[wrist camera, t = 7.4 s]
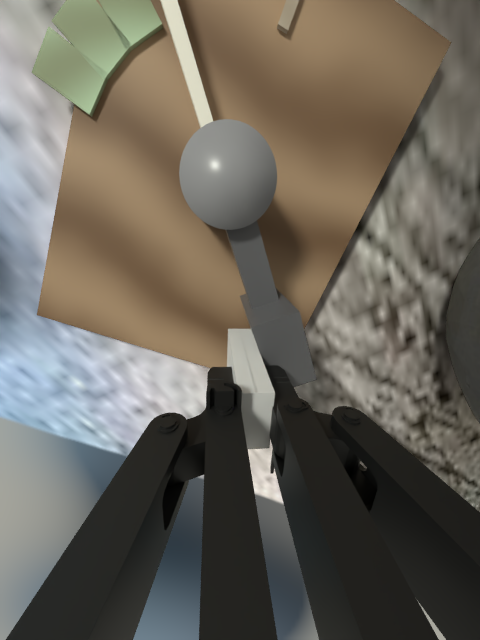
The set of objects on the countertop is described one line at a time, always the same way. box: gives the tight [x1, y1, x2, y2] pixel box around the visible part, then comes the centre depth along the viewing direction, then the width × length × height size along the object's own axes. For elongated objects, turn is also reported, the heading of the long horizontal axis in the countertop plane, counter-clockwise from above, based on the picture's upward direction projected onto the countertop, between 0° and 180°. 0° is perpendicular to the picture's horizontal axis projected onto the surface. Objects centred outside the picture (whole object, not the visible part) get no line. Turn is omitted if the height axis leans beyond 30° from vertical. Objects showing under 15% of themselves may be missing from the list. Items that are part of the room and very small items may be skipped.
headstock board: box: [32, 0, 451, 368], centre depth 16 cm, size 24×20×2 cm
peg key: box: [160, 0, 317, 387], centre depth 13 cm, size 21×4×6 cm, turn 18°
